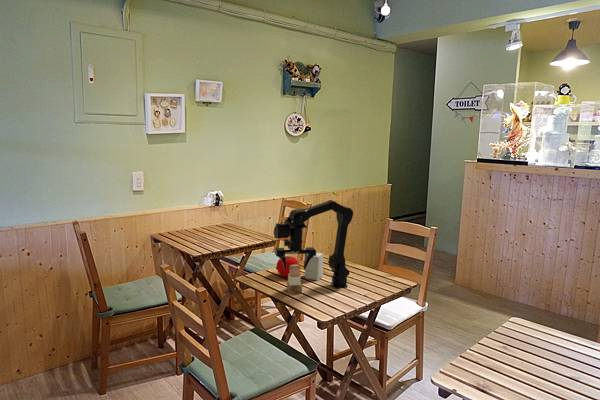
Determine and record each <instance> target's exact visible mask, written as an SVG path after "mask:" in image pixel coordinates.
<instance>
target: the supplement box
mask: <svg viewBox="0 0 600 400" xmlns="http://www.w3.org/2000/svg"><path fill="white" fill-rule="evenodd" d="M323 270H324V253H321V252H316V256H313V258H311V259H310V261H309V262H308V264H307V266H306V269H305V270H304V272H305V273H304V278H305V279H308V280H314V281H318V280H320V279H321V278H323Z"/></svg>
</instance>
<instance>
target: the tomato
mask: <svg viewBox="0 0 600 400" xmlns="http://www.w3.org/2000/svg"><path fill="white" fill-rule="evenodd" d="M285 257H286V270H285V269H284V266H283V262H282V259H281V258H279V259H278V260H277V263H276V266H275V268H276V271H277V273H278V274H280V275H281V276H283V277H285V278H288V274H289V272H290V265H293V264H296V265H300V262H299V260H298V258H296V257H295V256H290V255H288V256H287V255H285Z"/></svg>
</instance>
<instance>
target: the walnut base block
mask: <svg viewBox="0 0 600 400" xmlns="http://www.w3.org/2000/svg"><path fill="white" fill-rule="evenodd" d="M286 283H287V284H286V290H288V291H287V292H288V294H289V295H295V294H296V295H297V294H299V295H300V294H301V295H302V292H303V285H302V283H301V282H300V285H289V283H288V281H287V282H286Z"/></svg>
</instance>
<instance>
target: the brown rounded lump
mask: <svg viewBox="0 0 600 400" xmlns="http://www.w3.org/2000/svg"><path fill="white" fill-rule="evenodd" d="M289 276H291V277H299V276H300V277H301V265H300V264H299V265H296V264H293V265H290V272H289Z"/></svg>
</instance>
